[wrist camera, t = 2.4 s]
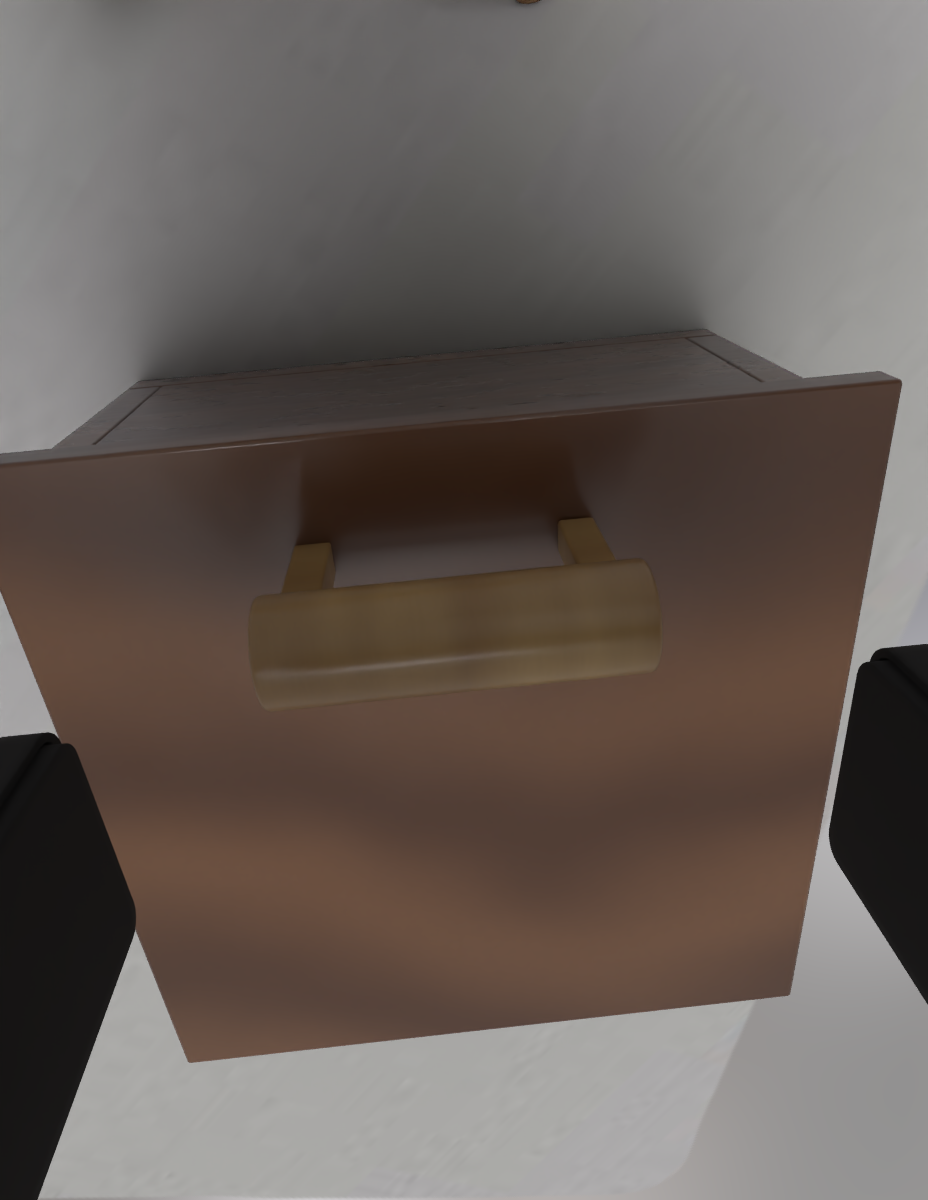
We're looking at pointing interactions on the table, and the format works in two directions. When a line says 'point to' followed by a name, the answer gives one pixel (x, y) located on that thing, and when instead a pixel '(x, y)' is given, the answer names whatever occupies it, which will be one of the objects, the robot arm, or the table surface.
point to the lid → (458, 699)
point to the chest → (423, 385)
